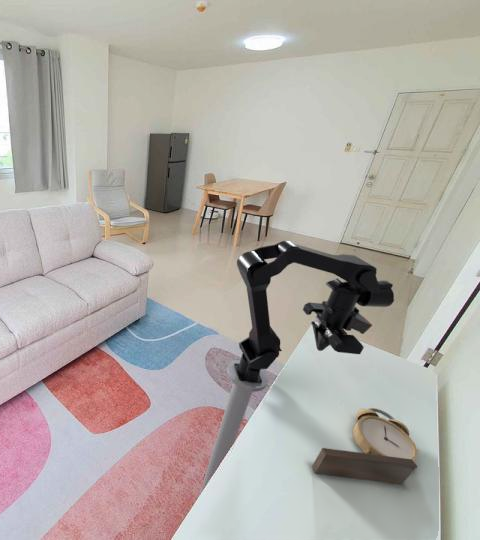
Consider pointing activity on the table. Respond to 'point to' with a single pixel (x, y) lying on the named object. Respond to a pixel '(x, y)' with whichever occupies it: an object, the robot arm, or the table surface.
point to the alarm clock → (383, 435)
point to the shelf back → (363, 466)
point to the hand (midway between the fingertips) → (319, 349)
